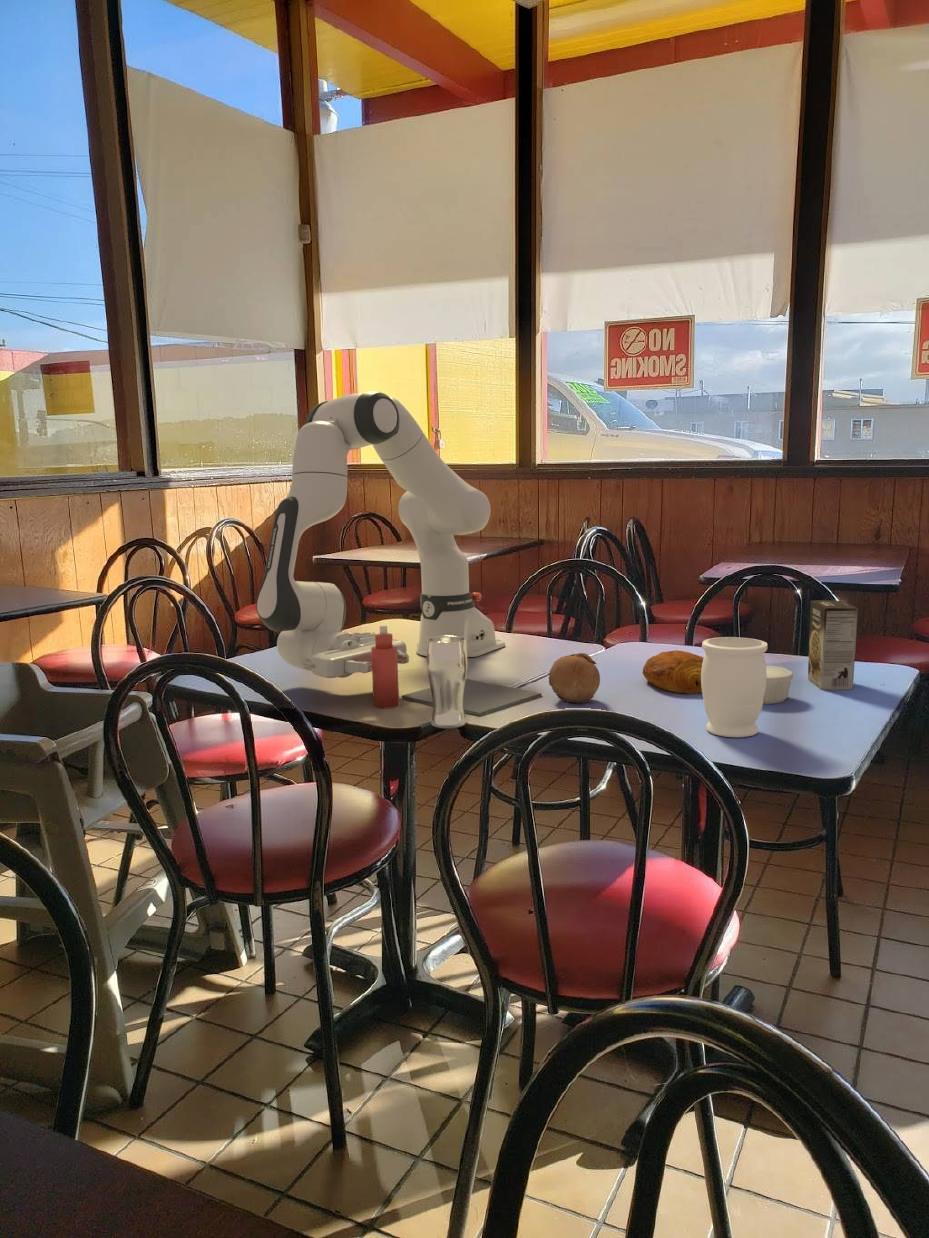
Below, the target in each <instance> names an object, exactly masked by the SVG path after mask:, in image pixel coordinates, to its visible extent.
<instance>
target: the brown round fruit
mask: <svg viewBox="0 0 929 1238" xmlns="http://www.w3.org/2000/svg"><path fill="white" fill-rule="evenodd" d="M597 664H598V663H597V662H596V661H595V660H594V659H593V658H592V657H591V656H590V655H589V654H587V653H585V652H579V653H573V654H570V655H569V654H568V655H564V656H561V657H559V658H558V659H556V660H555V661H554V662H553V664H552V665H551V668H550V669H549V675H548V684H549V687H550V686H551V689H552V692H554V693H555V695H556V696H557V698H558V699H560V700H561V701H563V702H564V703H565V702H566V703H567V702H568V703H571V702H574V703H575V702H581V703H583V702H586V703H587V701H590V700H591V699H593V698H594V697H595V694H596V693H597V691H598V689H599V686H600V683H601V674H600V671H599V669H598V667H597V666H596V665H597ZM575 704H576V703H575Z"/></svg>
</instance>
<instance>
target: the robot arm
mask: <svg viewBox="0 0 929 1238" xmlns="http://www.w3.org/2000/svg"><path fill="white" fill-rule="evenodd" d="M368 446H372V447H373V448H374V450H375V452H376V454H377V455H378V457H379V459H380V460H381V462H382V463H383V464H384V465H385V468H386V470H388V472H389V474H390V475H391V477H392V478H393V479H394V481H395V482H396V484H397V485H398V486H399V487H400V488H402V489H403V490H404V491H405V492H404V493H403V494H402V496H401V497H400V498H399V499H400V500H399V502H398V507H397V509H398V510H397V512H398V515H399V516H398V517H399V519H400V521H401V523H402V524H403V526H405V527H406V528H407V529H408V531H409V532H410V535H411V536H412V538H413V541H414V544H415V547H416V549H417V553H418V556H419V557H418V558H419V563H420V574H421V575H420V576H421V577H420V578H421V579H420V580H421V593H420V597H419V602H420V603H419V605H420V606H419V608H420V609H421V615H420V622H419V623H420V625H419V635H418V636H419V637H418V643H417V645H416V649H417V650H416V654H418V655H420V656H425V657H427V646H428V639H429V638H431V637H436V636H461V637H464V638H465V639H466V649H467V658H474V657H475V658H477V657H479V656H482V655H484V654H487V653H490V652H493V651H495V650H498V649H500V648H503V647H506V642H505V641H504V640H501V639H497V638H496V632H495V631H496V630H495V625H494V623H493V621H492V620H491V619H490V618H488V617H487V616H486V615H484V613H482V612H481V611H480V610H479V609H477V608H476V607H475V606H476V605H475V602H474V601H476V602H480V601H481V600H482V598H483V596H482V593H481V592H476V591H475V592H474V591H473V592H472V593H471V592H470V591H469V590H470V580H469V579H470V577H469V575H470V574H469V560H468V557H467V556H466V554H464V552H463V551H461V550H460V548H459V547H458V545H457V542H456V540H455V535H457V536H458V535H459V536H465V535H469V534H473V533H477V532H480V531H482V530H483V529H485V527H486V526H487V524H488V523H489V520H490V516H491V509H492V508H491V503H490V501H489V499H488V496H487V495H486V494H485V493H484V492H483V491H481V490H480V489H477V488H476V487H474V486H472V485H471V484H470V483H467V482H466V481H465V480H464V479H462V477H460V476H459V474H457V473H456V472H455V471H454V470H453V469H452V468H450V466H449V465H448V464H447V463H446V462H445V461H444V460H443V459H442V458H441V456H440V455H439V454H438V453H437V452H436V450H435V448H434V446H433V445H432V444H431V442H430V441H429V439H428V437H427V435H425V432H424V431H423V430H422V428H421V427H420V425H419V424H418V422H417V421H416V419H415V418H414V416H413V415H412V414H411V413H410V412H409V410H407V408H406V407H405V406H404V404H402V403H401V402H400V401H399V400H398V399H396V398H395V397H392V396H388V395H387V394H385V393H384V392H381V391H376V390H375V391H372V390H370V391H364V392H361V393H359V392H358V393H351V394H344V395H343V396H340V397H337V398H334V399H331V400H325V401H322V402H320V403H318V404H316V405H315V406H314V407H312V408H311V409H310V410H309V412H308V414H307V416H306V420H305V424H304V425H302V426H301V427H300V429H299V430H298V433H297V436H296V440H295V446H294V451H293V459H292V468H291V469H292V470H291V472H292V473H291V485H290V489H289V492H288V493H287V496H286V497H285V498H284V499H282V500H281V501H280V503H278V506H277V508H276V512H275V515H274V520H273V522H272V523H273V524H272V528H271V533H270V534H271V535H270V539H269V545H268V551H267V557H266V562H265V563H266V564H265V567H264V573H263V578H262V582H261V584H260V588H259V590H258V593H257V597H256V601H255V602H256V603H255V608H256V609H255V610H256V612H257V615H258V617H259V619H260V620H261V622H262V623H263V624H264V626H265V627H267V629H269V630H271V631H273V632H276V633H277V632H280V633H279V634H278V636H277V640H276V647H277V652H278V654H279V656H280V658H282V660H283V661H284V662H286V663H287V664H289V665H290V666H293V667H295V668H297V669H300V670H304V671H308V672H311V673H312V674H313V675H316V676H319V677H322V678H325V679H335V678H340V679H345V678H348V677H350V676H351V675H353V674H355V673H356V674H357V673H361V674H367V673H372V654H371V647H373V646H375V635H376V634H377V633H375V632H368V631H367V632H366V631H365V632H353V633H352V632H349V631H343V628H344V625H345V621H346V617H347V616H346V615H347V605H346V600H345V597H344V594H343V593H342V590H341V589H340V588H339V587H338V586H337V585H336V584H334V583H331V582H322V581H301V580H300V581H299V580H295V577H294V572H295V568H296V561H297V560H296V559H297V555H298V554H297V553H298V548H299V543H300V539H301V538H302V535H303V533H304V532H305V531H306V530H308V529H309V528H311V527H312V526H314V525H318V524H320V523H324V522H326V521H328V520H330V519H332V518H333V517H334V516H336V515H337V514H338V513H339V512H340V511H342V509H343V508H344V506H345V504H346V500H347V497H348V496H347V495H348V454H349V452H350V451H354V450H359V449H362V448H365V447H368ZM393 645H394V646H397V659H398V665H403V664H404V665H405V664H409V661H410V655H409V654H408V653H407V651H408V650H407V644H406V643H405V642H404V641H402V640H400V639H399V640H398V639H394V638H393Z"/></svg>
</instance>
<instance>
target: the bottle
mask: <svg viewBox="0 0 929 1238" xmlns="http://www.w3.org/2000/svg"><path fill="white" fill-rule="evenodd" d="M375 634H376V635H375V646H373V647H371V654H372V671H371V676H372V677H371V678H372V679H371V680H372V704H373V705H372V706H373V707H374V708H378V709H392V708H396V707H398V706H399V705H400V700H399V699H400V698H399V697H400V695H399V693H400V691H399V690H400V689H399V666H398V665H399V663H398V659H397V646H394V645H393V639H394V638H393V634H392V633H388V626H387V625H380V626H379V633H375Z"/></svg>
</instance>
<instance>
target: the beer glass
mask: <svg viewBox="0 0 929 1238" xmlns="http://www.w3.org/2000/svg"><path fill="white" fill-rule="evenodd" d="M426 670H427V671H426V672H427V677H428V683H429V688H431V693H432V699H433V705H432V712H431V713H432V714H431V720H430V725H431V726H433V727H434V728H438V729H457V728H461V727H463V726H465V725H466V724H467V719H466V715H465V714H466V713H464V706H463V699H464V691H465V685H466V679H468V678H467V677H468V657H467V649H466V639H465V638H464V637H461V636H436V637H431V638H429V639H428V646H427V656H426Z"/></svg>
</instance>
